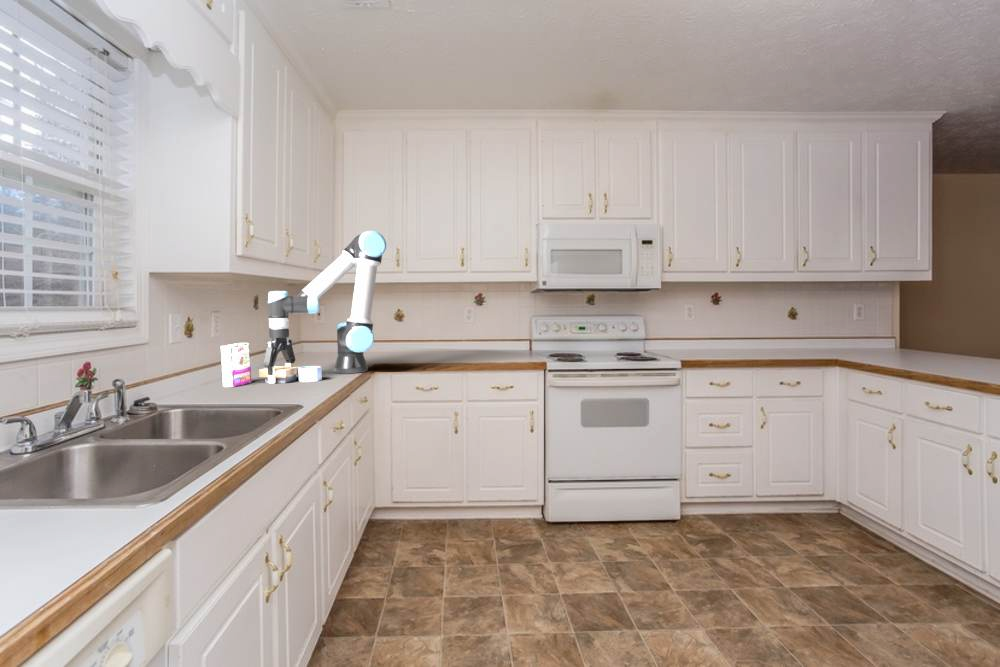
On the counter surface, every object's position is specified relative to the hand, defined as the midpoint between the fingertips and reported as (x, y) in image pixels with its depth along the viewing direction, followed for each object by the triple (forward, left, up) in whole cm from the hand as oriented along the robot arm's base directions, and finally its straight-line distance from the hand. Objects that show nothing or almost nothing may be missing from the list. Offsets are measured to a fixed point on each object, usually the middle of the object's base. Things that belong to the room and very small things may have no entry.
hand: (280, 380), depth 210 cm
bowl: (-4, +11, 0) cm, 12 cm away
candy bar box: (+11, -12, 0) cm, 16 cm away
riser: (0, 0, 0) cm, 0 cm away
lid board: (0, 0, +2) cm, 2 cm away
